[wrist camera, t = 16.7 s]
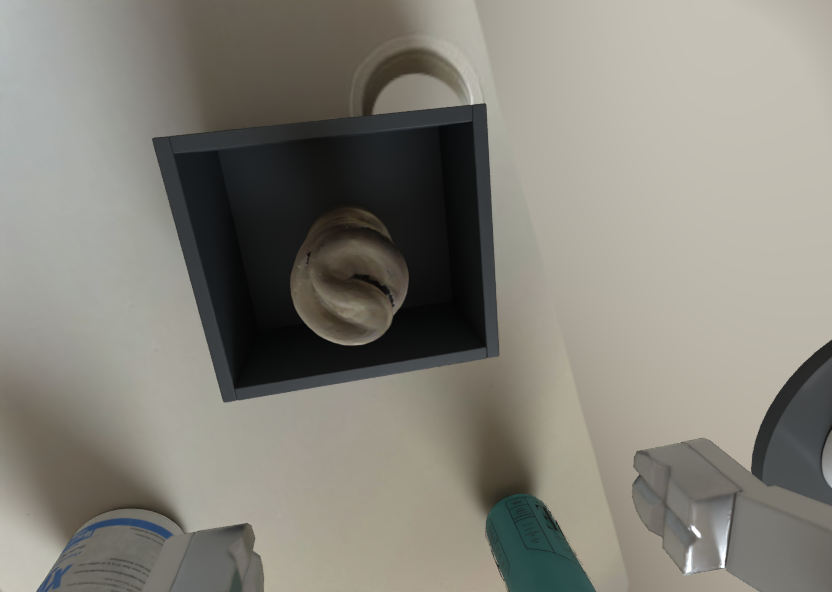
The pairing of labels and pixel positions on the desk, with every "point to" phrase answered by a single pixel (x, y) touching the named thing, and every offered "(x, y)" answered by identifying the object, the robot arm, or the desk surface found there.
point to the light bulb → (348, 276)
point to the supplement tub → (111, 553)
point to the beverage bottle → (533, 548)
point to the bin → (290, 222)
